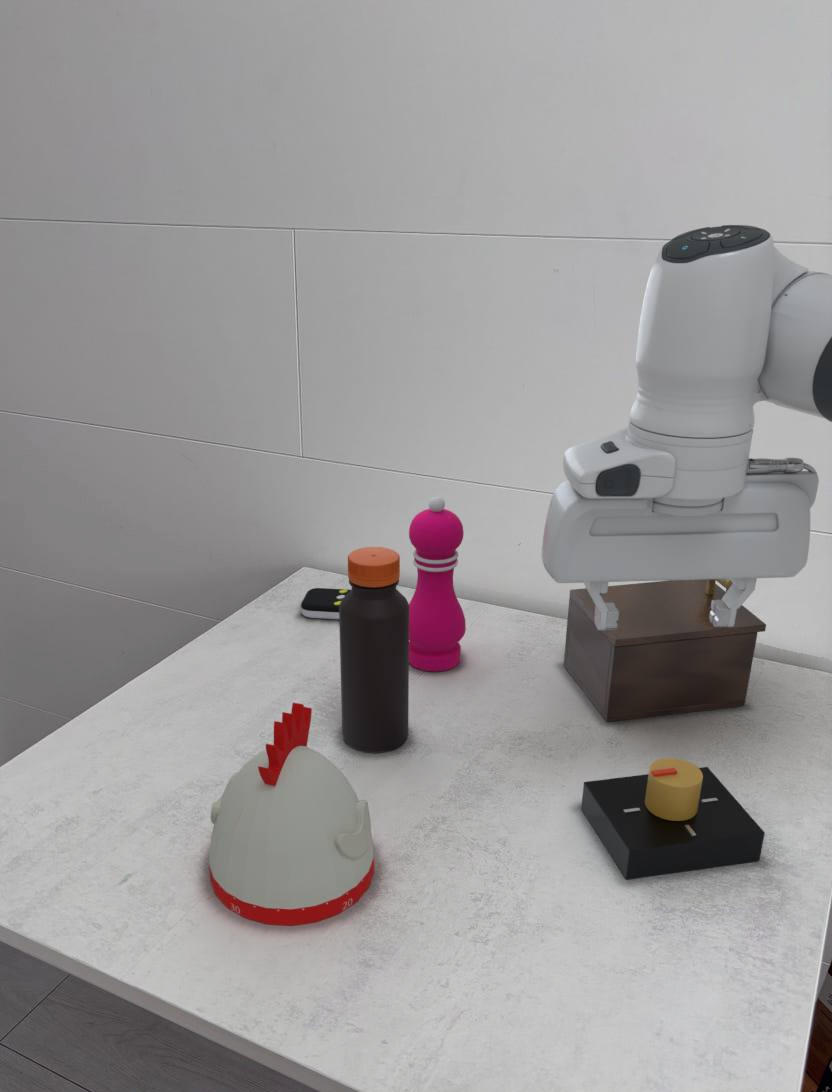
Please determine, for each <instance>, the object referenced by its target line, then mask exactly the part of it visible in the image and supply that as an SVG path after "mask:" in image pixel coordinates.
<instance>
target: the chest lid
mask: <svg viewBox="0 0 832 1092" xmlns="http://www.w3.org/2000/svg"><path fill="white" fill-rule="evenodd" d="M716 582H717V583H718V584H717V583H716ZM719 584H720V585H721V586H722V587H723V588H725V590H724V589H723V588H722V587H720V586H719ZM732 584H733V583H732V582H731V580H730V579H704V580H665V581H647V582H637V583H627V584H617V585H608V590H607V593H600V595H601V597H602V599H603V601H604V603H614V604H615V606H616V607H615V608H617V609H618V611H619V617H618V620H617V621H616V622H617V624H618V626H617V630H600V631H601V632H602V633H603V634H604V635H605V636H606V637H607V639H608V640H609V641H610V642H611V643H612V644H613V645H614V646H615V647H618V646H628V645H638V644H647V643H657V642H667V641H676V640H686V639H696V638H705V637H715V636H725V635H734V634H744V633H754V632H757V633H762V632H766V630H767V629H766V628H767V624H766V623H765V622H764V621H762V619H760V618H759V617H758V616H757V615H755V614H754V613H753V612H751V611H750V610H749V609H748V608H746V607H745V606H744V605H743V604H742V605H741V606H740V607H739V609H737V612H736V617H735V623H734V626H733V627H714V626H713V624H712V623H711V622H710V620H709V613H710V611H711V610H712V609H711V601H712V600H722V598H723V596H724V595H725V593H726V592H727V591H728V589H729V588H730V587H731V585H732ZM569 597H571V598H572V599H573V601H574V602H575V603H576V604H577V605H578V606H579V607H580V608H581V610H582V611H583V612H584V613H585V614H586V615H587V616H588V617H589V618H590V620H591V621H592V622H593V623H594V624H595V621H594V617H595V607H596V605H595V603H594V601H593V599H592V598H591V596H590V594H589V592H588V590H587V588H586V587H585V588H574V589H573V588H572V589H569Z"/></svg>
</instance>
